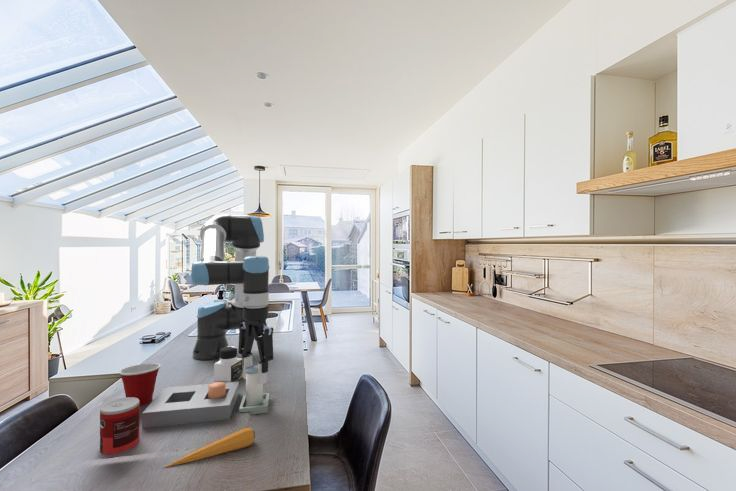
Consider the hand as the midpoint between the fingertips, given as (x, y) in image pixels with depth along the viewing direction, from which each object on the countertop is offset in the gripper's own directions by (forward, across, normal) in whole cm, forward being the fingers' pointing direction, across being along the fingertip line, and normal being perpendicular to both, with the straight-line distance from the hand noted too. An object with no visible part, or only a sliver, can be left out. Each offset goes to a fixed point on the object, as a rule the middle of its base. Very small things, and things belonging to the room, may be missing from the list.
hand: (255, 379), depth 102 cm
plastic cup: (+9, -30, -19) cm, 37 cm away
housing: (+8, -12, -12) cm, 19 cm away
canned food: (+9, -11, -32) cm, 35 cm away
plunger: (+7, -8, -8) cm, 13 cm away
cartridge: (+8, 0, 0) cm, 8 cm away
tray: (+8, 0, 0) cm, 8 cm away
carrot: (+9, +10, -21) cm, 25 cm away
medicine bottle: (+9, -25, +8) cm, 27 cm away
